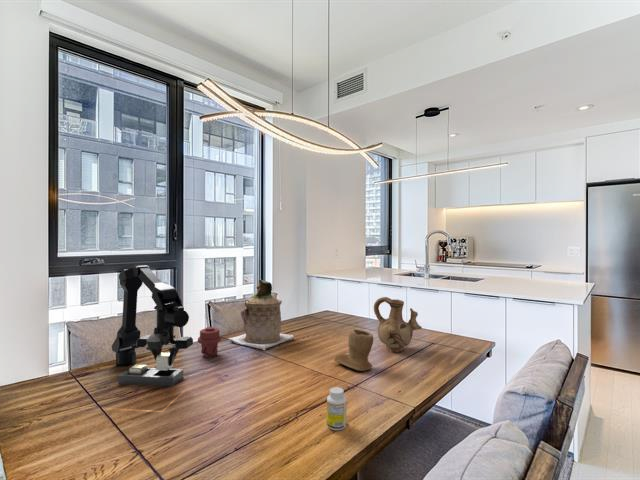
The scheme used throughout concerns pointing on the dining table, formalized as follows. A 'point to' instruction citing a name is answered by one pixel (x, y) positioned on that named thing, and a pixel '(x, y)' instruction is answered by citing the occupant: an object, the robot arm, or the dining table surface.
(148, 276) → the robot arm
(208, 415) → the dining table surface
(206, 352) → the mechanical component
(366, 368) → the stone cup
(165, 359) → the cream two-tone block
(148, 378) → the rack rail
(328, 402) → the supplement bottle
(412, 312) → the ceramic vessel
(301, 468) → the dining table surface
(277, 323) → the cookie jar
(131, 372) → the beige block
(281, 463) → the dining table surface
